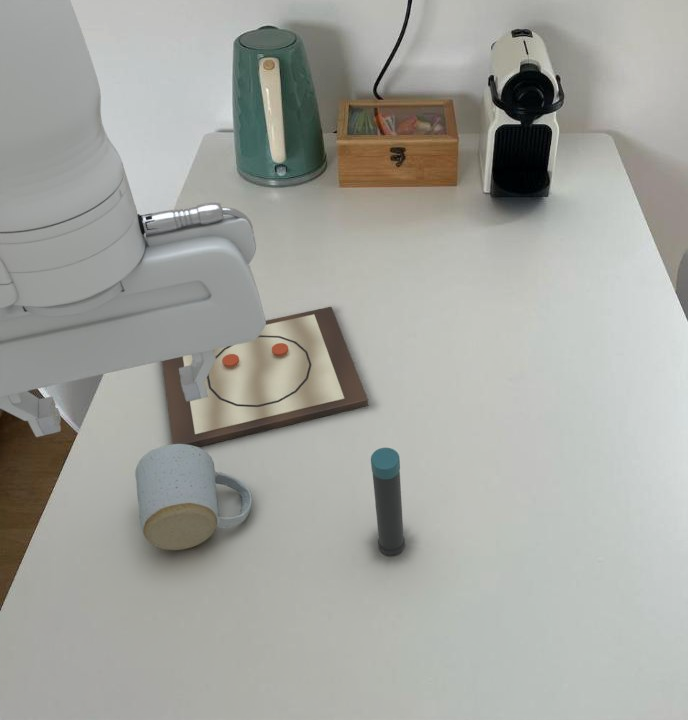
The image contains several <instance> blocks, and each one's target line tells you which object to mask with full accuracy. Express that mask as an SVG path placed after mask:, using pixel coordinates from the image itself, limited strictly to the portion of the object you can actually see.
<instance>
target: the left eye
mask: <svg viewBox="0 0 688 720" xmlns="http://www.w3.org/2000/svg"><path fill="white" fill-rule="evenodd" d="M238 362H239V357H238V356H237V355H235V354H229V355H226V356H225V357H224V358H223V359H222V363H223V365H224V366H226V367H232V366H235V365H237V364H238Z"/></svg>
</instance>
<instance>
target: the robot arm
mask: <svg viewBox="0 0 688 720" xmlns="http://www.w3.org/2000/svg"><path fill="white" fill-rule="evenodd" d="M101 104H102V95H101V87H100V83H99V80H98V76H97V73H96V70H95V67H94V64H93V60H92V57H91V54H90V51H89V48H88V45H87V41H86V38H85V36H84V33H83V31H82V28H81V25H80V22H79V19H78V16H77V14H76V12H75V9H74V6H73V4H72V2H71V0H0V410H2V411H4V412H6V413H8V414H10V415H12V416H14V417H16V418H18V419H20V420H22V421H25V422H27V423H28V425H29V427H30V428H31V431H32V432H33V434H34V436H35V437H36V438H39V437H43V436H47V435H51V434H55V433H56V434H57V433H59V432H61V430H62V426H61V423H62V419H61V414H60V410H59V409H58V407H57V406H56V402H55V400H54V398H53V396H48V397H43V398H38V397H37V396H36V395H35V394H33V393H31V392H30V391H33V390H38V389H42V388H46V387H52V386H56V385H60V384H61V385H62V384H64V383H70V382H73V381H79V380H82V379H88V378H93V377H97V376H101V375H105V374H111V373H114V372H119V371H123V370H128V369H132V368H133V369H134V368H136V367H141V366H147V365H150V364H151V365H152V364H155V363H159V362H162V361H164V360H169V359H173V358H178V357H182V356H187V355H192V358H193V360H192V362H191V365H189V366H185V367H181V368H179V374H180V378H181V379H180V381H181V386H182V390H183V393H184V395H185V399H186V402H188V401H193V400H197V399H202V398H206V397H208V391H207V386H206V381H205V380H206V378H207V376H208V374H209V372H210V370H211V368H212V366H213V364H214V362H215V360H216V357H215V352H214V349H218V348H223V347H228V346H232V345H237V344H241V343H246V342H250V341H253V340H256V339H257V338H258V337H259V335H260V334H261V332H262V331H263V329H264V327H265V326H266V321H267V320H266V315H265V311H264V308H263V304H262V300H261V297H260V293H259V290H258V286H257V283H256V280H255V277H254V274H253V272H252V268H251V265H250V264H251V262H252V261H253V259H254V257H255V254H256V251H257V242H256V237H255V232H254V227H253V224H252V221H251V220H250V218H249V217H248V216H247V215H246V214H245V213H244V212H242V211H240V210H239V209H236V208H233V207H226V206H223V207H222V205H221V203H220V202H205V203H201V204H197V205H196V206H194V207H189V208H183V209H182V208H181V209H168V210H162V211H157V212H151V213H145V214H140V213H138V210H137V206H136V203H135V200H134V196H133V193H132V190H131V187H130V183H129V180H128V176H127V174H126V170H125V166H124V163H123V159H122V158H121V156H120V154H119V152H118V150H117V149H116V147H115V145H114V144H113V143H112V141H111V140H110V138H109V137H108V134H107V132H106V130H105V128H104V124H103V119H102V110H101V109H102V108H101V107H102V105H101Z"/></svg>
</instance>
